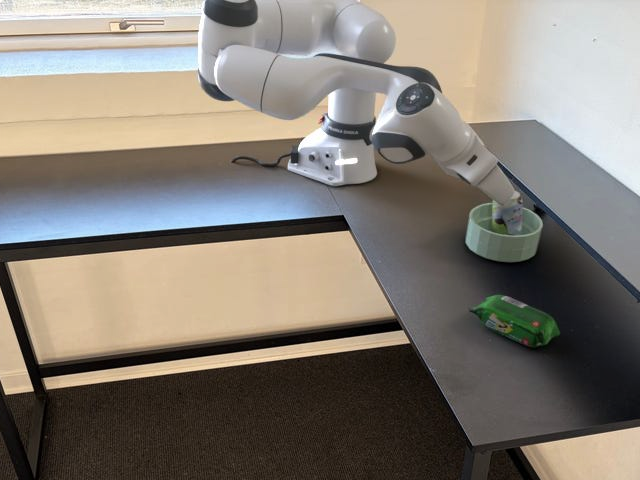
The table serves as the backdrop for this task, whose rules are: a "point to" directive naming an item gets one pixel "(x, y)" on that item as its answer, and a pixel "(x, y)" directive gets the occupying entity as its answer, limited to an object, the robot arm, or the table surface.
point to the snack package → (516, 320)
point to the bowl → (502, 236)
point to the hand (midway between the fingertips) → (494, 192)
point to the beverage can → (508, 216)
